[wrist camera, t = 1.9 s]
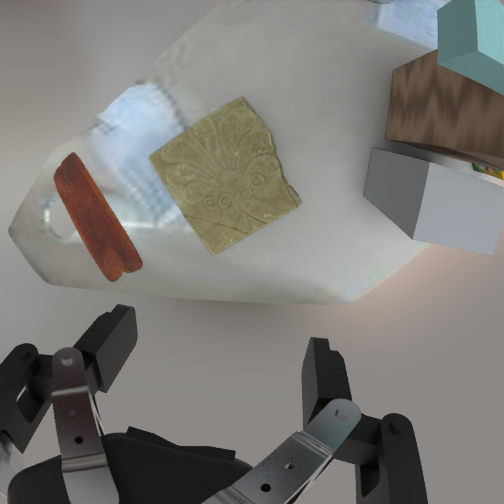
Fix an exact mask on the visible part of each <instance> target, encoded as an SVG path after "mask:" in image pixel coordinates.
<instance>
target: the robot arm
mask: <svg viewBox="0 0 504 504" xmlns="http://www.w3.org/2000/svg"><path fill="white" fill-rule="evenodd" d="M370 1H373V2H377V3H389V2H392V1H394V0H370ZM137 337H138V333H137V324H136V315H135V309H134V307H131V306H126V305H122V304H118V305H117V306H116V307H115V308H114V309H113V310H112V312H111V313H110V312H106V313H104V314H102V315H101V316H99V317H98V318H97V319H96V320H95V321H94V322H93V325H91V326H90V327H89V328H88V330H87V331H86V332H85V333H84V334H83V335H82V336H81V338H80V339H79V340H78V341H77V343H76V344H75V345H74V346H73V347H67V348H62V349H60V350H58V351H57V352H56V353H55V354H54V355H43V354H39V353H38V351H37V348H36V347H35V346H34V345H32V344H29V343H24V344H21V345H18V346H16V347H15V348H14V349H13V350H12V351H11V353H10V354H9V355H8V356H7V357H6V358H5V360H4V361H3V362H2V363H1V364H0V495H2V496H3V497H5V498H6V499H7V500H8V504H295V503H296V502H297V501H298V500H299V499H300V498H301V497H302V496H303V494H304V493H305V492H306V491H307V490H308V489H309V487H310V486H311V485H312V484H313V483H314V482H315V481H316V480H317V479H318V478H319V476H320V475H321V474H322V473H323V472H324V471H325V470H326V469H327V467H328V466H329V465H330V464H331V463H332V462H333V460H334V459H338V460H341V461H345V462H348V463H352V464H355V474H356V503H357V504H428V500H427V494H426V488H425V482H424V477H423V471H422V466H421V461H420V457H419V452H418V447H417V443H416V439H415V434H414V430H413V427H412V424H411V422H410V421H409V420H408V418H406V417H405V416H403V415H401V414H397V413H392V414H388V415H386V416H384V417H383V419H382V420H381V419H377V418H373V417H369V416H366V415H364V414H362V413H361V411H360V409H359V407H358V406H357V405H356V404H355V403H353V402H352V397H351V392H350V387H349V382H348V377H347V372H346V369H345V368H346V367H345V362H344V359H343V357H342V356H341V355H340V353H339V352H338V351H333V350H330V347H329V341H328V339H326V338H317V337H311V338H310V341H309V344H308V348H307V351H306V355H305V359H304V362H303V366H302V402H303V430H302V431H301V432H299V433H298V432H295V433H293V434H292V435H291V436H290V437H289V438H287V439H286V440H285V441H284V442H283V443H282V444H281V445H280V446H279V447H278V448H277V449H275V450H274V451H273V452H272V453H271V454H270V455H268V456H267V457H266V458H265V459H264V460H262V461H261V462H260V463H259V464H258V465H257V466H255V467H254V468H253V467H252V466H251V465H249V464H247V463H246V462H244V461H241V460H240V459H237V458H235V452H236V451H234V450H228V449H222V448H216V447H210V446H178V445H176V444H174V443H172V442H169V441H167V440H165V439H164V438H162V437H160V436H158V435H156V434H154V433H150V432H146V431H143V430H140V429H137V428H134V427H130V426H129V428H128V430H127V432H126V433H111V434H106V432H105V429H104V426H103V423H102V419H101V416H100V412H99V408H98V405H97V401H96V397H95V394H96V392H97V391H98V390H99V391H101V392H104V393H107V391H108V390H109V388H110V386H111V385H112V383H113V381H114V379H115V378H116V376H117V374H118V373H119V371H120V370H121V368H122V366H123V365H124V363H125V361H126V360H127V358H128V357H129V355H130V353H131V352H132V350H133V348H134V347H135V345H136V342H137ZM24 386H25V388H26V389H25V391H24V392H23V393H22V395H21V397H20V398H19V399H18V401H17V397H18V395H19V393H20V392H21V391H22V389H23V388H24ZM16 401H17V402H16ZM51 403H53V411H54V419H55V425H56V432H57V437H58V443H59V448H60V453H61V454H60V455H58V456H56V457H53V458H51V459H49V460H46V461H44V462H41V463H39V464H36V465H34V466H31V467H28V468H26V469H24V468H23V466H24V458H23V455H22V454H23V452H24V451H25V449H26V447H27V445H28V443H29V441H30V440H31V438H32V436H33V434H34V433H35V431H36V429H37V427H38V426H39V424H40V422H41V421H42V419H43V417H44V415H45V414H46V412H47V410H48V409H49V407H50V405H51Z"/></svg>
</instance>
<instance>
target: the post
mask: <svg viewBox="0 0 504 504" xmlns="http://www.w3.org/2000/svg"><path fill="white" fill-rule="evenodd" d="M437 56H438V49H436V50H434V51H432V52H430V53H428V54H426V55H423V56H421V57H419V58H417V59H415V60H413V61H411V62H409V63H407V64H405V65H403V66H401V67H399V68H397V69H395V70H393V76H392V87H391V96H390V105H389V113H388V121H387V128H386V135H385V139H387V140H391V141H395V142H399V143H403V144H406V145H410V146H413V147H417V148H420V149H424V150H427V151H430V152H434V153H437V154H440V155H443V156H446V157H451V158H455V159H459V160H463V161H467V162H471V163H475V164H479V165H482V166H486V167H490V168H493V169H497V170H500V171H503V172H504V96H503V95H501V94H500V93H498V92H496V91H494V90H492V89H490V88H488V87H486V86H484V85H483V84H481V83H479V82H476V81H474V80H472V79H470V78H468V77H466V76H464V75H462V74H459V73H457V72H455V71H453V70H450V69H448V68H445V67H443V66H441V65H438V64H437Z"/></svg>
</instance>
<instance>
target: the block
mask: <svg viewBox="0 0 504 504" xmlns="http://www.w3.org/2000/svg"><path fill="white" fill-rule="evenodd" d="M437 14H438V56H437V64H438V65H441V66H443V67H445V68H448V69H450V70H453V71H455V72H457V73H459V74H462V75H464V76H466V77H468V78H470V79H472V80H474V81H476V82H479V83H481V84H483V85H484V86H486V87H488V88H490V89H492V90H494V91H496V92H498V93H500V94H501V95H503V96H504V6H503V5H502V4H500V3H499V2H497V1H495V0H452V1H451V2H449V3H448V4H446V5H445V6H443V7H442V8H440V9H439V10H437Z"/></svg>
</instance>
